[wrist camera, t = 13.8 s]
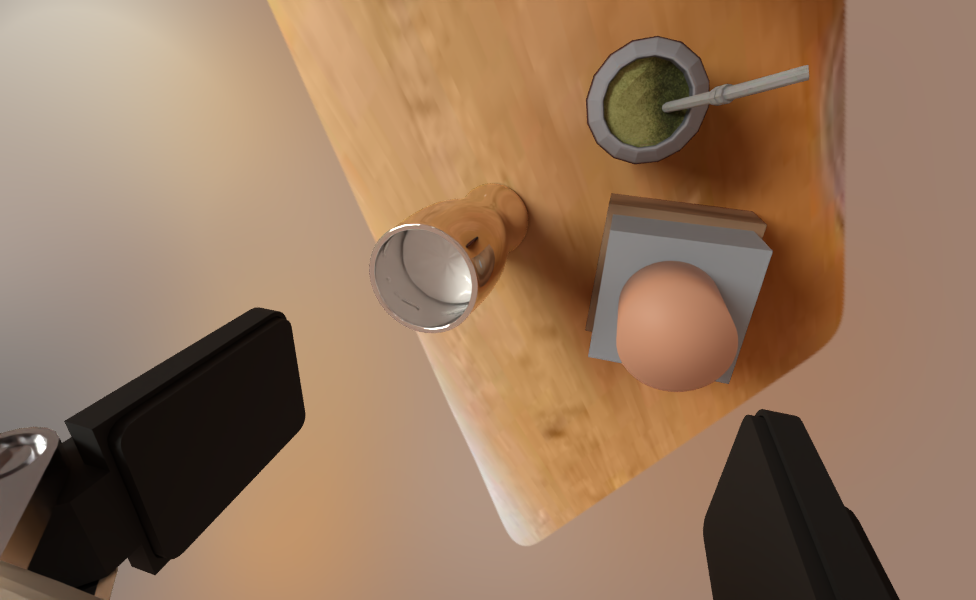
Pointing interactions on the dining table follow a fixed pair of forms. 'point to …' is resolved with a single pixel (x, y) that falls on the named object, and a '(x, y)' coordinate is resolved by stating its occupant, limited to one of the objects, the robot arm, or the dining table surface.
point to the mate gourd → (660, 98)
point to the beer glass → (447, 257)
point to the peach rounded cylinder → (674, 327)
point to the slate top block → (714, 250)
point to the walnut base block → (668, 213)
